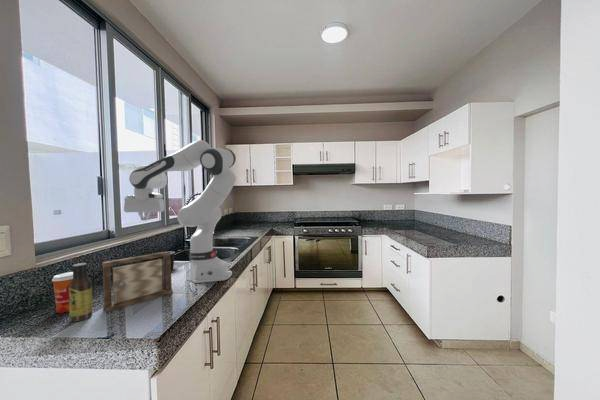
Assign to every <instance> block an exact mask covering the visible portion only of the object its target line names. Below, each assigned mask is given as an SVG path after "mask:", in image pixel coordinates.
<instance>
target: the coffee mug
mask: <svg viewBox="0 0 600 400" xmlns="http://www.w3.org/2000/svg"><path fill="white" fill-rule="evenodd" d="M169 252H170V263H171V271H173V270H174V267H175V266H174V265H175V255H176V252H175V251H169ZM157 258H158V259H164V256H163V257H157ZM153 260H154V258H152V259H151V261H153Z"/></svg>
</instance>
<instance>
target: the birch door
mask: <svg viewBox="0 0 600 400" xmlns="http://www.w3.org/2000/svg"><path fill="white" fill-rule="evenodd" d="M112 285H113V286H112V287H113V288H112V289H113V302H114V303H119V302H123V301H126V300H130V299H134V298H137V297H141V296H145V295H148V294H152V293H156V292H159V291H163V290H165V269H164V259H159V258H158V259H153V261H152V260H149V261H142V262H138V263H133V264H132V263H131V264H126V265H122V266H116V267H112Z"/></svg>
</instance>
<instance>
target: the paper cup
mask: <svg viewBox="0 0 600 400" xmlns="http://www.w3.org/2000/svg"><path fill="white" fill-rule="evenodd" d="M72 279H73V271H68V272H64V273H63V272H62V273H58V274H56V275H54V276H53V277H52V279H51V281H52V283H53V292H54V300H55V309H56V310H55V311H56V313H57V314H65V313H64V312H66V313H68V312H69V284H70V282H71V281H72Z"/></svg>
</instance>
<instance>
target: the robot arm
mask: <svg viewBox="0 0 600 400" xmlns="http://www.w3.org/2000/svg"><path fill="white" fill-rule="evenodd" d="M236 157H237V156H236V154H235V153H234V152H233V150H231V149H229V148H226V147H215V148H212V147H211V145H210V144H209V143H208V142H207V141H206V140H202V139H200V140H196V141H194V142H191V143H190V144H187V145H186V146H184V147H183V148H181V149H180V150H178V151H176V152H174V153H172V154H169V155H167V156H164V157H162V158H160V159H158V160H156V161H153V162H151V163H150V164H148V165H147V164H142V165H137V166H136V167H135V168H134V170H133V171H132V172H131V173H130V174H129V182H130V184H131V186H133V195H127V196H125V197H124V202H123V203H124V205H123V211H124V212H125V213H137V214H138V216H139V217H140V221H149V217H150V216H151V214H152V212H153V213H155V212H156V213H161V212H164V211H165V201H164V199H163V198H164V197H163V196H164V195H163V194H162V193H159V192H154V189H155V190H156V189H157V190H158V189H159V190H160V189H164V188H165V187H167V185H168V183H169V178H168V175H167V174H166V173H167V172H188V171H191V170H194V169H196V168H198V167H199V166H202V168H203V169H204V170H205V171H206V172H207V173H208V174H209V175H211V176H212V178H211V180H210V181H209V183H208V184H207V186H206V187H205V188H204V190H203V191H202V193H201V194H200V195H199V196H198V197H196V198H195V199H193V201H191V202H190V203H189V204H187V205H185V206H183V207H182V208H180V209H179V210H178V212H177V215H176V216H177V221H178V223H179V224H180V226H182V227H189V228H190V227H191V228H192V227H193V228H194V227H197V228H196V230H195V232H194V233H193V234H192V235H191V236H190V238H189V243H190V244H189V245H190V252H189V262H190V266H189V267H190V268H189V274H188V277H187V279H188V281H189V282H193V284H199V283H210V282H212V283H213V282H219V281H220V282H221V281H226V280H228V279H230V278H231V277H232V276H233V271H232V270H229V267H228V265H227V262H225V261H224V260H222V259H220V258H219V257H218V256H217V253H218V251H217V250H214V248H213V243H214V241H213V239H214V231H215V228H216V225H217V224H218V222H219V221H220V220H221V218H222V215H223V214H222V210H221V208H220V207H221V206H222V204H223V203H224V202H225V200H226V199H227V197H228V196H229V194H230V193H231V192H232V190H233V187H234V185H235V183H236V181H237V177H236V174H235V173H234V172H233V171H232V170H231V169H230V168H231V167H233V166H234V165H235V163H236ZM144 213H145V214H146V215H145V216H144Z"/></svg>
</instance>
